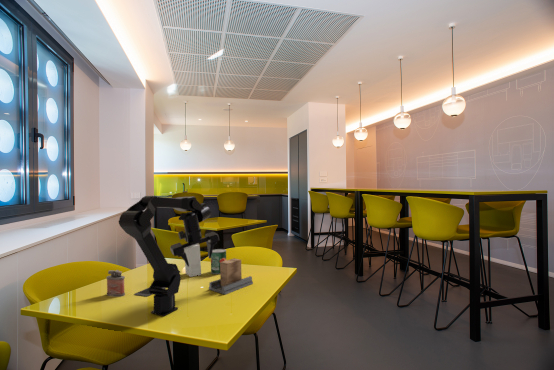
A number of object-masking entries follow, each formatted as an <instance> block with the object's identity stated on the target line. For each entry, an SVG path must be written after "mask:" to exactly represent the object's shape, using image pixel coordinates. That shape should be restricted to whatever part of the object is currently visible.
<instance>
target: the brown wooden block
mask: <svg viewBox="0 0 554 370" xmlns="http://www.w3.org/2000/svg"><path fill="white" fill-rule="evenodd" d="M219 276H220V278H219V279H221V286H224V285H227V284H230V283H233V282H235V281H238V280H241V279H243V278H242V259H238V258H231V259H226V261H223V262H220V274H219Z"/></svg>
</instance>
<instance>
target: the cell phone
mask: <svg viewBox="0 0 554 370" xmlns="http://www.w3.org/2000/svg"><path fill="white" fill-rule="evenodd" d="M148 289H149V287H147V288H144V289H142V290H140V291H138V292H135V293H134V294H133V295H134V296H139V297H144V298H147V297H150V296H152V295H153V294H150V293H149V290H148ZM162 289H167V288H165V287H162Z"/></svg>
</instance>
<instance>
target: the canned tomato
mask: <svg viewBox="0 0 554 370" xmlns="http://www.w3.org/2000/svg"><path fill="white" fill-rule="evenodd" d="M223 261H227V249H225V248H217V249H216V248H214V249H213V251H212V255H211V258H210V274H212V275H220V262H223Z"/></svg>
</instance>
